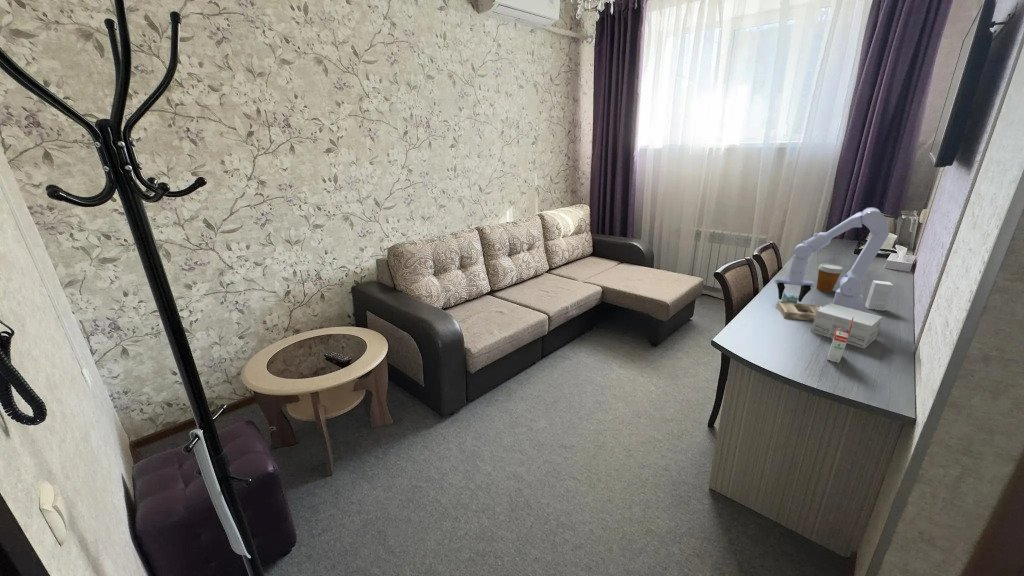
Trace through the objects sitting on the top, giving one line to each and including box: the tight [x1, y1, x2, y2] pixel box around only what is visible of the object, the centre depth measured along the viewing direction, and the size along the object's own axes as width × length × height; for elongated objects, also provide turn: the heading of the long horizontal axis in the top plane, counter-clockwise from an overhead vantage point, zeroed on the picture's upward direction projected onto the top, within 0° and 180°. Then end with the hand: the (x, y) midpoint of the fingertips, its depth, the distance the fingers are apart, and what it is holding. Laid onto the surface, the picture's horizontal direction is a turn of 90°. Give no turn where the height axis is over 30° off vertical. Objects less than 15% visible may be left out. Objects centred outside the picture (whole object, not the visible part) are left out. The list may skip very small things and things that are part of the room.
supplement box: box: [810, 302, 883, 349], centre depth 155 cm, size 17×13×9 cm
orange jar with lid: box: [816, 263, 844, 293], centre depth 199 cm, size 10×10×12 cm
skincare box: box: [864, 279, 894, 311], centre depth 178 cm, size 6×4×12 cm
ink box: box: [826, 318, 853, 364], centre depth 138 cm, size 4×8×15 cm, turn 140°
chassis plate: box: [776, 300, 823, 322], centre depth 173 cm, size 16×12×3 cm
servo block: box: [781, 291, 798, 303], centre depth 184 cm, size 4×9×5 cm, turn 162°
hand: (789, 299), depth 184 cm, fingers open, 7 cm apart
